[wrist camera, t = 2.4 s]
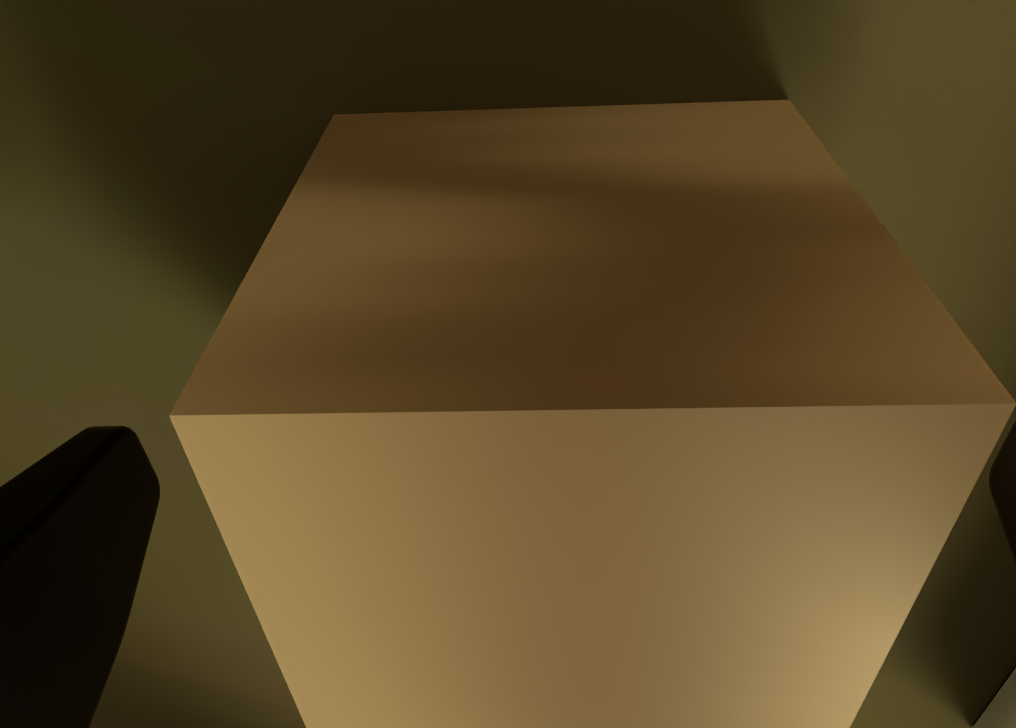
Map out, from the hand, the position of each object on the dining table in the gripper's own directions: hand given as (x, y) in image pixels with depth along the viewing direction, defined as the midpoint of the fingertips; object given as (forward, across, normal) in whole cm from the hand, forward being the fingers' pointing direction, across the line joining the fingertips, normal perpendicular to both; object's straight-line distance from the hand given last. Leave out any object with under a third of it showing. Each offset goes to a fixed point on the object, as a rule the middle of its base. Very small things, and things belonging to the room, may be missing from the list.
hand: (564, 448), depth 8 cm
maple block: (+3, 0, 0) cm, 3 cm away
